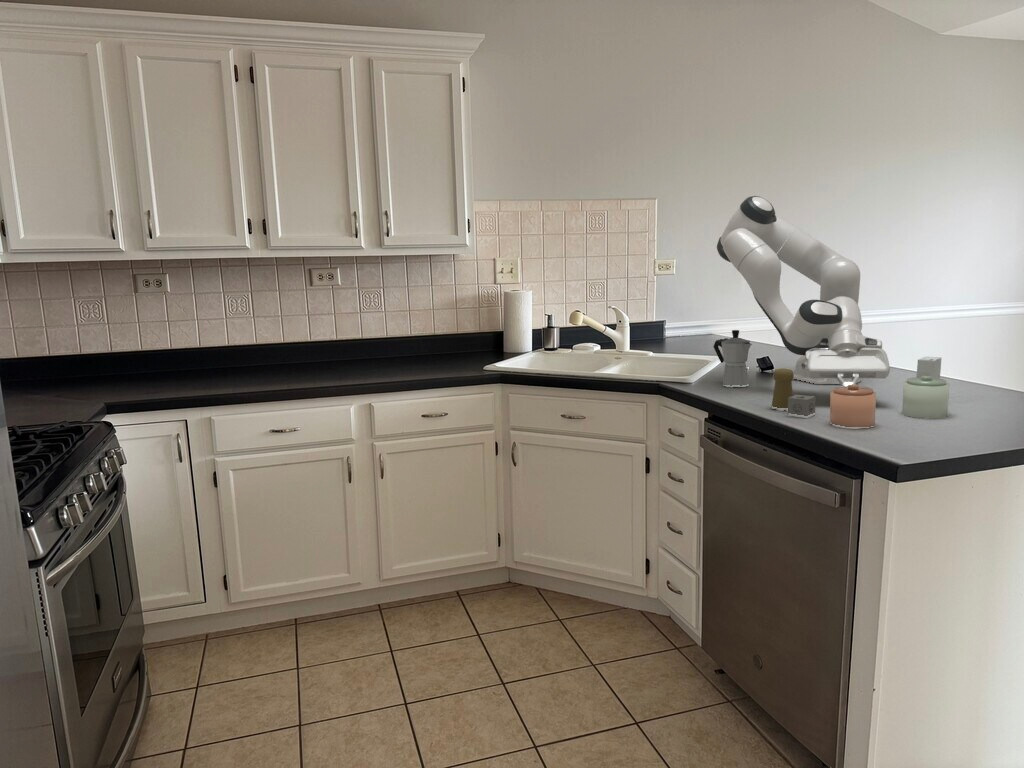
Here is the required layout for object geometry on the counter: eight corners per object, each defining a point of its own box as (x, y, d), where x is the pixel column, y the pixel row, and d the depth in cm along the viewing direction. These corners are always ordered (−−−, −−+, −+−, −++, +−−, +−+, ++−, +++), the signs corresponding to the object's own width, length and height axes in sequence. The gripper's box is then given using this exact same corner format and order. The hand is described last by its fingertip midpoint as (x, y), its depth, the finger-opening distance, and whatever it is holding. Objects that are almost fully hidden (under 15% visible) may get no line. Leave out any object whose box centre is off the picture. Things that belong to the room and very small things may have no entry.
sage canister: (893, 414, 184) (895, 376, 183) (916, 408, 189) (918, 371, 187) (932, 420, 176) (935, 381, 174) (955, 414, 181) (958, 376, 179)
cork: (766, 408, 198) (766, 368, 196) (783, 405, 200) (783, 366, 198) (782, 412, 193) (783, 371, 191) (799, 409, 195) (800, 369, 193)
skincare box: (921, 399, 200) (923, 355, 198) (939, 401, 196) (942, 356, 194) (913, 403, 195) (915, 358, 193) (932, 404, 192) (934, 359, 190)
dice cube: (787, 416, 188) (788, 397, 187) (796, 413, 191) (796, 394, 190) (806, 419, 184) (807, 399, 183) (815, 415, 188) (815, 396, 187)
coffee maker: (760, 386, 230) (761, 329, 227) (742, 390, 225) (743, 332, 222) (723, 380, 242) (723, 327, 239) (705, 384, 237) (705, 329, 234)
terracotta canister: (820, 424, 178) (821, 384, 177) (848, 418, 183) (849, 380, 181) (856, 431, 169) (857, 390, 168) (884, 425, 174) (885, 385, 172)
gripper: (805, 341, 200) (806, 382, 192) (888, 340, 193) (892, 383, 185) (804, 355, 205) (805, 395, 197) (885, 354, 198) (889, 396, 190)
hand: (848, 389), depth 191 cm, fingers closed
